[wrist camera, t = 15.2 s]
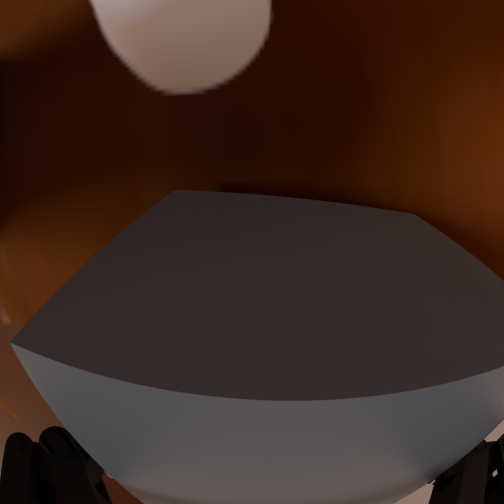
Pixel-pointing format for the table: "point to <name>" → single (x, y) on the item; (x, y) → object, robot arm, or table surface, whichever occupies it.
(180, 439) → the dark grey block
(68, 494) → the robot arm
